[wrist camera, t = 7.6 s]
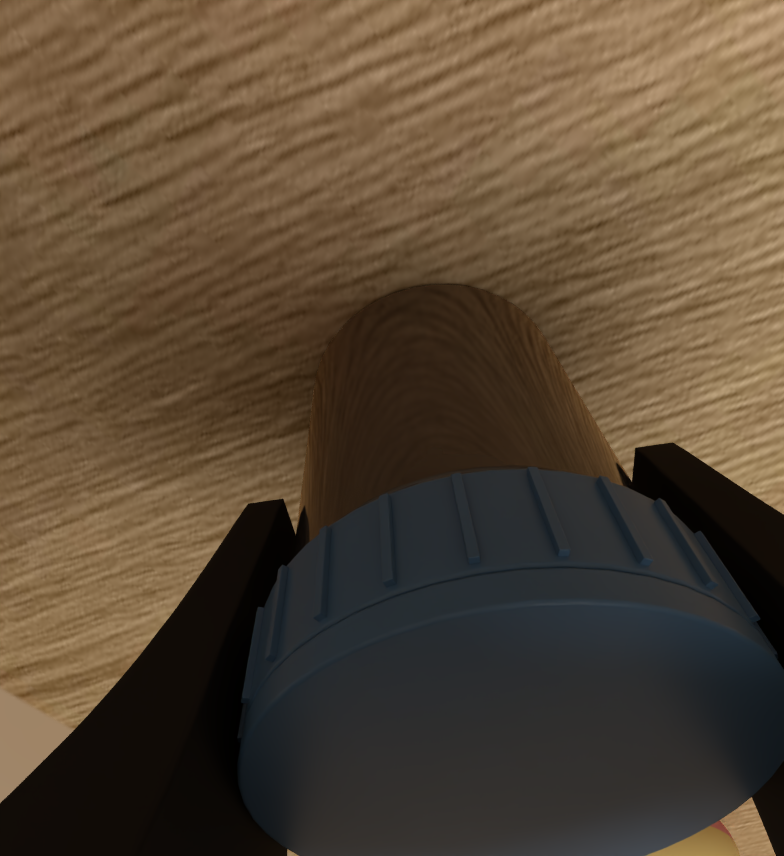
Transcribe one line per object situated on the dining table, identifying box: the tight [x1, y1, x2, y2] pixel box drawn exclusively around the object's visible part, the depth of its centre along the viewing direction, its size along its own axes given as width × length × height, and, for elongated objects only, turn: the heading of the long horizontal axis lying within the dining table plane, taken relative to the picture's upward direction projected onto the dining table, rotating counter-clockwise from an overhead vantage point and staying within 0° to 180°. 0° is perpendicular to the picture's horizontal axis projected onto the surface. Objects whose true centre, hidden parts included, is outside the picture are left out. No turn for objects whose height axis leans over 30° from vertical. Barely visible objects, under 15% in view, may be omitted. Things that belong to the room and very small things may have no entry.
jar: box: [293, 284, 637, 558], centre depth 10 cm, size 5×5×8 cm
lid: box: [237, 467, 784, 856], centre depth 7 cm, size 6×6×2 cm
